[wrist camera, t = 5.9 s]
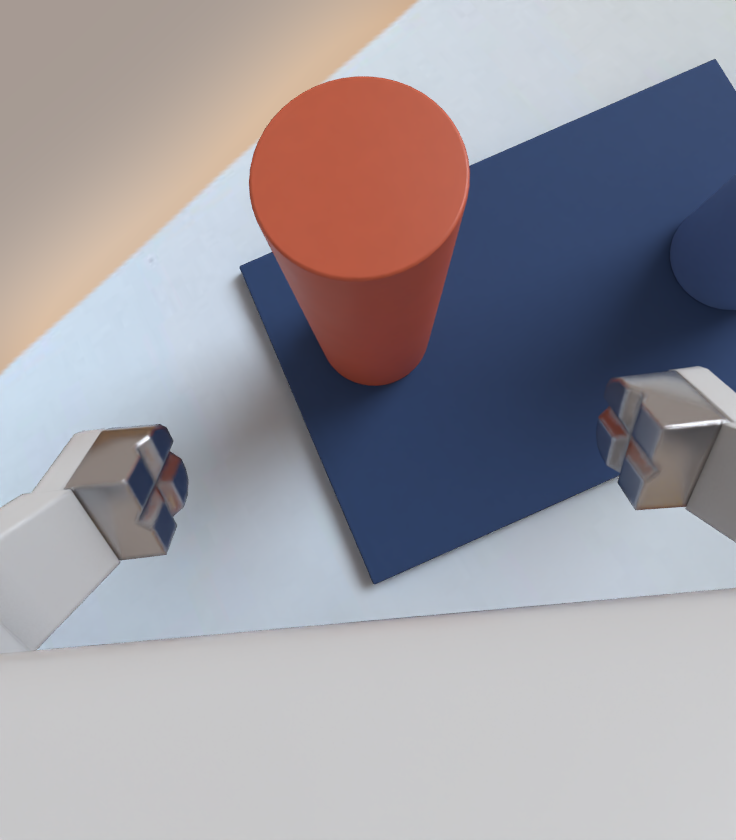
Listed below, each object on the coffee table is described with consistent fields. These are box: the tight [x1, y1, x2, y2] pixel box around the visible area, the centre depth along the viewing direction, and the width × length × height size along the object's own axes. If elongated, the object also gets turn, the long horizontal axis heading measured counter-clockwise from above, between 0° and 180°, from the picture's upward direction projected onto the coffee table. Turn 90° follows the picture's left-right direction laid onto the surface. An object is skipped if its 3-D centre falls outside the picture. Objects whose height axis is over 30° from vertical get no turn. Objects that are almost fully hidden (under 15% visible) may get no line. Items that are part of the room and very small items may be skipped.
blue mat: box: [240, 59, 736, 584], centre depth 19 cm, size 22×14×1 cm, turn 114°
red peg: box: [249, 77, 470, 386], centre depth 14 cm, size 4×4×10 cm
